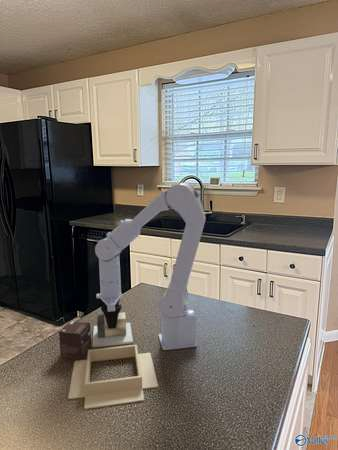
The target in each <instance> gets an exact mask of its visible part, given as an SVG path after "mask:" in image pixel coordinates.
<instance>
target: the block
mask: <svg viewBox="0 0 338 450" xmlns="http://www.w3.org/2000/svg"><path fill="white" fill-rule="evenodd" d="M96 320H97V321H96V326H97V329H98V338H100V337H109V336H119V335H126V323H127V317H126V311H125V312H119V315H118V319H117V326H116V328H112V329H109V328H108V325H107V321H106V318H105V315H104V313H103V314H97V318H96Z"/></svg>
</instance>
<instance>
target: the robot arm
mask: <svg viewBox="0 0 338 450" xmlns="http://www.w3.org/2000/svg"><path fill="white" fill-rule="evenodd" d="M203 207H204V206H203V205H202V202H201V197H200V193H199V192H198V190H196V188H195V187H194V186H193V185H192V184H191V183H188V182H179V183H177V184H174V185H171V186H170V187H169V188H168V189H166V190H165V191H163V192H161V193H160V194H159V195H157V196H156V197H155V198H154V199H152V200H151V202H150V203H148V204H147V205H146V206H145V207H144V208H143V209H142V210H140V212H139V213H138V214H137V215H135V217H134V218H133V219H130V218H125V219H124V220H123V219H121V220H120V221H118V222H117V226H116V227H115V228H114V229H113V230H112V231H108V232H107V233H106V234H105V236H106V237H105V238H103V239H100V240H98V241H97V243H96V245H95V247H94V252H95V256H96V257H97V258H98V269H99V270H98V271H99V285H100V287H99V288H100V293H96V299H100V301H101V302H102V303H103V304H101V305H100V310H101V312H102V313H103V314H104V315H105V318H106V321H107V325H108V328H109V329H112V328H116V326H117V319H118V315H119V313H121V310H122V306H123V305H122V304H119V303H120V302H121V298H122V296H123V293H122V285H121V283H122V281H121V265H120V264H121V263H120V261H121V260H120V258H121V257H120V254H121V253H122V251H123V250H124V249H125V248H127V247H128V246H129V245H130V244H131V243H133V241H134V240H136V239H137V238H138V237H140V235H141V228H142V227H143V226H145V225H146V224H147V223H149V221H151V220H152V219H153V218H155V217H156V216H157V215H158V214H160V212H163V211H164V212H165V211H169V210H171V209H173V210H174V211H175V212H177V213H178V214H179V215H180V217H181V218H182V219H183V221H184V222H185V226H184V230H183V233H182V237H181V242H180V244H179V247H178V252H177V256H176V260H175V264H174V266H173V271H172V275H171V276H170V277H171V278H170V281H169V283H168V287H167V288H166V291H165V293H164V294H163V297H162V298H160V301H159V309H160V311H161V312H160V313H161V316H160V317H161V321H160V322H161V325H160V326H161V333H159V334H158V338H159V342H160V346H161V349H162V350H163V351H168V350H169V351H170V350H171V351H172V350H179V349H188V348H196V347H197V346H198V344H197V317H196V313H195V311H194V309H188V308H187V307H188V306H186V304H185V303H186V302H187V299H188V297H189V293H188V292H189V291H188V284H189V280H190V276H191V273H192V269H193V266H194V261H195V259H196V255H197V252H198V248H199V244H200V240H201V238H202V234H203V230H204V227H205V223H206V213H205V212H204V208H203Z"/></svg>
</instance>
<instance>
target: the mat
mask: <svg viewBox="0 0 338 450" xmlns="http://www.w3.org/2000/svg"><path fill="white" fill-rule="evenodd" d="M92 332H93V333H92V342H91V349H94V348H102V347H109V346H110V347H112V346H119V345H120V346H122V345H131V344H133V343H134V340H133V333H132V332H133V331H132V325H131V322H130V321H129V322H126V335H119V336H109V337H100V338H98V329H97V325H93V331H92Z"/></svg>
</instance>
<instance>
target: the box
mask: <svg viewBox="0 0 338 450" xmlns="http://www.w3.org/2000/svg"><path fill="white" fill-rule="evenodd" d="M58 337H59V338H58V340H59V352H60V358H62V359H70V360H78V361H81V360H84V358H85V357H86V355H88V350H91V349H92V333H91V323H90V322H82V321H81V322H80V321H74V320H73V321H72V320H71V321H68V323H67V324H65V325H64V326H63V328H61V330H59V331H58Z"/></svg>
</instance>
